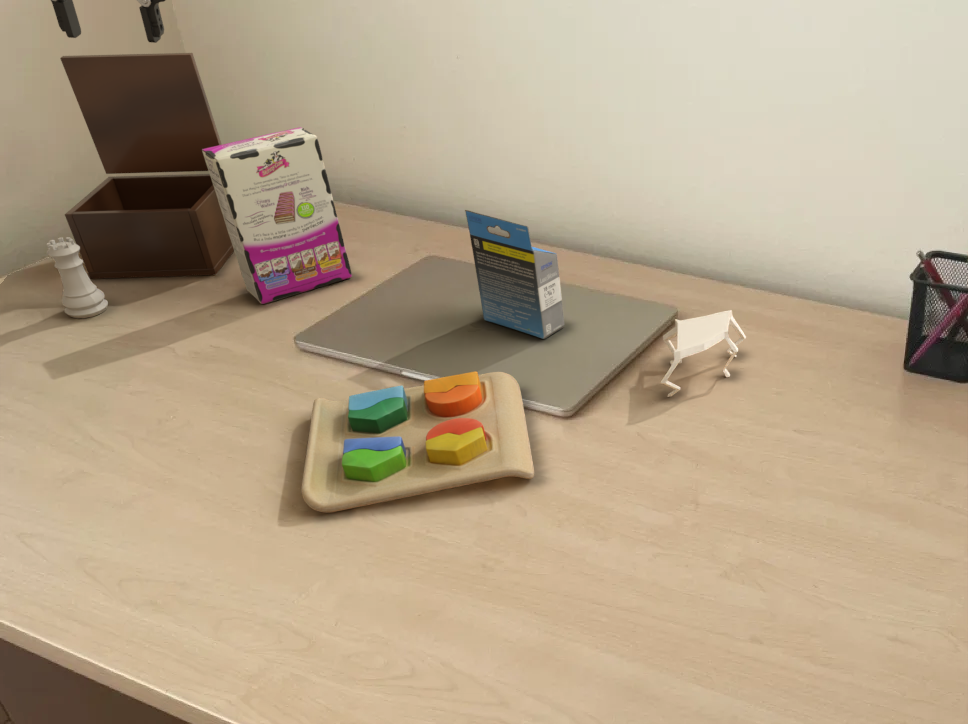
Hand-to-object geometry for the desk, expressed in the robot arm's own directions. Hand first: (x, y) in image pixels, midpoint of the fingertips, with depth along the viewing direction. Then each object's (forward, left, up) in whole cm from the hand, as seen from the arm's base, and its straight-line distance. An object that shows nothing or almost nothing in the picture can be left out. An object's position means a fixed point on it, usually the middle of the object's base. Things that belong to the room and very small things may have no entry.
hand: (114, 38), depth 118 cm
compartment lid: (0, +2, -9) cm, 9 cm away
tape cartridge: (+45, -26, -24) cm, 57 cm away
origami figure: (+63, -39, -24) cm, 78 cm away
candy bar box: (+18, -14, -24) cm, 33 cm away
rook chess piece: (-4, -19, -24) cm, 31 cm away
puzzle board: (+38, -50, -24) cm, 67 cm away
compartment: (0, -4, -24) cm, 24 cm away
